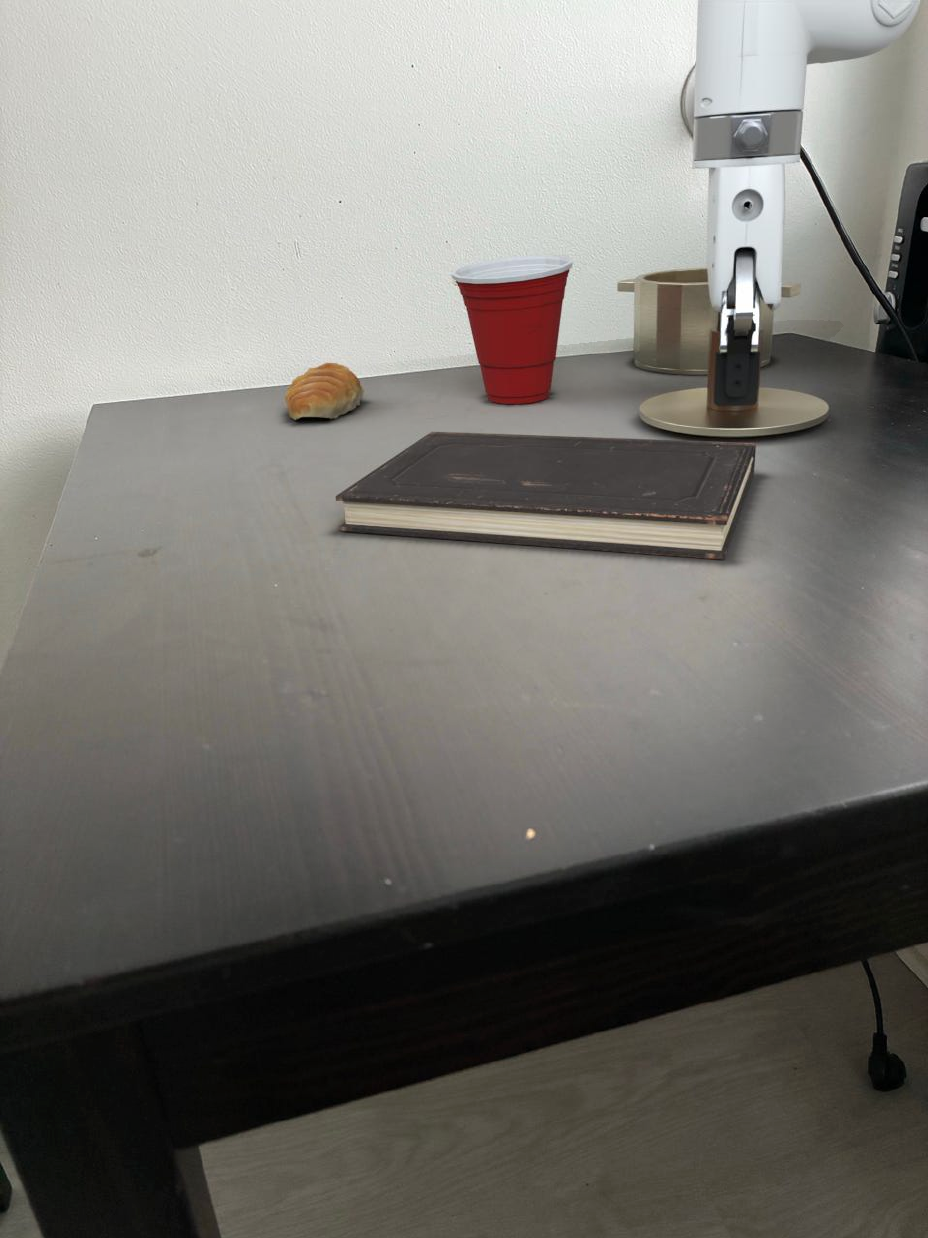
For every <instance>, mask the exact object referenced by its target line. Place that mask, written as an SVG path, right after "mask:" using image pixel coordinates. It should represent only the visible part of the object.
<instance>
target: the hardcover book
mask: <svg viewBox="0 0 928 1238" xmlns="http://www.w3.org/2000/svg"><path fill="white" fill-rule="evenodd" d="M756 453H757V445H756V443H755V442H738V441H735V442H734V441H712V440H711V441H709V440H685V439H684V440H682V439H680V440H679V439H677V440H676V439H653V438H647V439H646V438H626V437H625V438H623V437H595V436H570V435H568V436H567V435H566V436H565V435H542V434H541V435H538V434H508V433H485V432H453V431H452V432H451V431H431V432H429V433H427V434H426V435H424V436H423V437H421V438H420V439H418V440H417V441H415V442H414V443H413V444H411V445H409V446H408V447H407V448H405V449H403V450H402V451H400V452H399V453H398V454H396V455H395V456H393V457H391V458H390V459H389V460H387V461H386V462H384V463H383V464H381V465H379V466H378V467H377V468H376V469H374V470H372V471H370V472H369V473H368V474H366V475H365V476H363V477H362V478H360V479H358V481H356V482H355V483H353V484H351V485H350V486H348V487H346V488H345V489H344V490H342V491H341V492H340V493H338V494H336V496H335V502H342V504H343V509H344V519H345V522H343V523H342V524H341V525H339V526H338V530H339V531H340V532H348V533H358V534H359V533H360V534H373V535H374V534H375V535H386V536H400V537H401V536H402V537H412V538H413V537H415V538H427V539H430V538H431V539H439V540H453V541H454V540H455V541H465V542H467V541H468V542H469V541H470V542H482V543H495V544H509V545H511V544H512V545H519V546H520V545H522V546H536V547H548V548H562V549H563V548H564V549H576V550H589V551H600V552H602V551H603V552H614V553H615V552H616V553H628V554H643V555H654V556H656V555H657V556H668V557H669V556H670V557H683V558H696V559H709V560H710V559H712V560H722V561H723V560H725V559H726V556H727V553H728V551H729V548H730V544H731V542H732V538H733V536H734V533H735V530H736V528H737V525H738V521H739V518H740V515H741V513H742V510H743V507H744V504H745V501H746V499H747V495H748V494H749V491H750V488H751V485H752V482H753V479H754V475H755V467H756V465H755V464H756Z"/></svg>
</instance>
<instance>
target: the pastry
mask: <svg viewBox="0 0 928 1238" xmlns="http://www.w3.org/2000/svg"><path fill="white" fill-rule="evenodd" d="M364 394H365V387H364V386H363V385H362V384H361V382H360V380H359V378H358V376H357V375H356V374H355V373H354V372H353V371H351V369H349V367H348V366H345V365H343V364H339V363H337V362H325V363H322V364H319V365H318V366H316V367H308V369H307V371H305V373H304V374H301V375H298V376H296V377H295V378H294V379H293V380H292V381H291V384H290V386H289V387H288V389H287V390H286V394H285V396H284V397H285V402H286V405H287V412H288V415H289V417H290V419H293V420H294V421H297V420H299V419H300V418H325V419H330V420H333V419H334V420H335V419H338V417H340V416H341V415H347V414H348V413H349V412H352V411H354V410H355V409H356V408H357V406H360V405H361V400H362V399H363V396H364Z"/></svg>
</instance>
